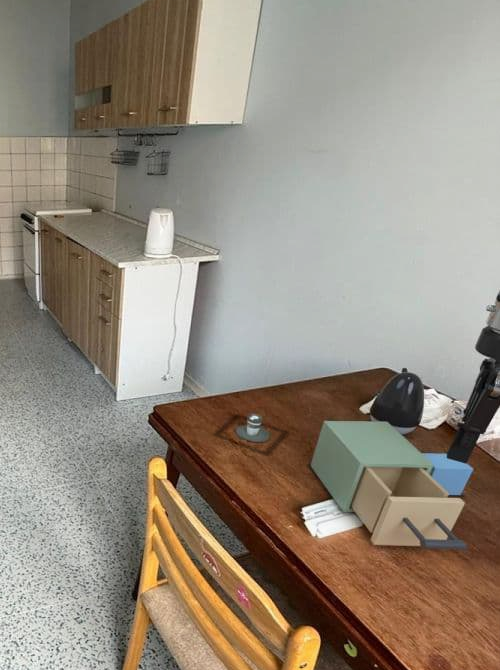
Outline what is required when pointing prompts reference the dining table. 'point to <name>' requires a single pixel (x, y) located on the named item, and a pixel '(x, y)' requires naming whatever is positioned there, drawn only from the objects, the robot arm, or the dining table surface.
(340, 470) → the cabinet
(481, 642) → the dining table surface
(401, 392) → the black bell
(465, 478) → the blue cuboid
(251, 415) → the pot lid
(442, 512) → the drawer
